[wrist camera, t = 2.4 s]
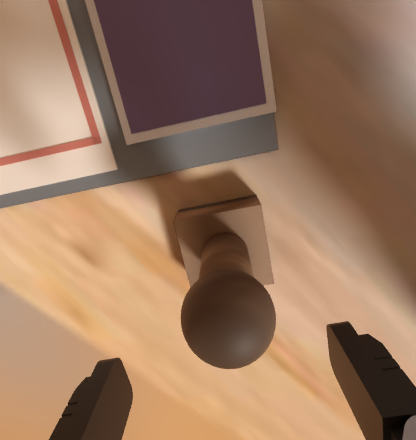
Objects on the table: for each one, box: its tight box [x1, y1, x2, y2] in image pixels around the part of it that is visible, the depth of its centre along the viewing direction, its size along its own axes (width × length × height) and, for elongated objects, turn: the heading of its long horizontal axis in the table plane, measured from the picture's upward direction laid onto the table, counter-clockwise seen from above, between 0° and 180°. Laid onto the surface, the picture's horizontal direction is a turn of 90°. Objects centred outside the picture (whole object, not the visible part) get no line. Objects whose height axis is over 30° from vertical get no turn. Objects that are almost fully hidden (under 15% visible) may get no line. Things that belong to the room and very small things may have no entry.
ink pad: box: [85, 0, 277, 145], centre depth 18 cm, size 10×11×2 cm
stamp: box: [173, 195, 276, 369], centre depth 17 cm, size 6×6×12 cm
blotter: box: [0, 0, 279, 208], centre depth 19 cm, size 23×16×1 cm
